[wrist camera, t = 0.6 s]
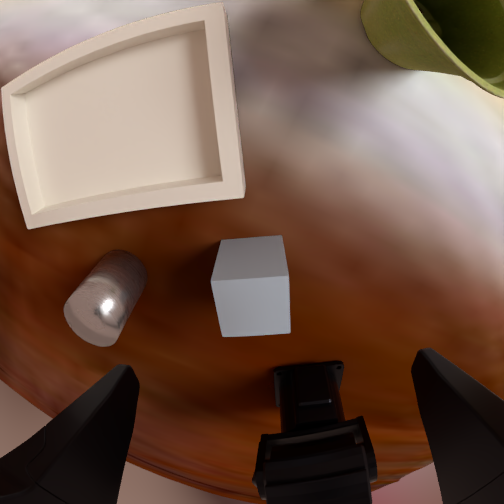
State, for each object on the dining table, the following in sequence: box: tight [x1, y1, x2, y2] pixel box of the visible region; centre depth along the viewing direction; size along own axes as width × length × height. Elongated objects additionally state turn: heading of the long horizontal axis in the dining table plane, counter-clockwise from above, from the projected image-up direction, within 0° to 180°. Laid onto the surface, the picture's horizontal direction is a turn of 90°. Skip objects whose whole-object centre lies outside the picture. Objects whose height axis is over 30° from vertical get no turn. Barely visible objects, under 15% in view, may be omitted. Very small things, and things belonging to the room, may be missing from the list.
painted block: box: [211, 235, 290, 337], centre depth 18 cm, size 4×4×5 cm
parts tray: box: [1, 2, 246, 229], centre depth 14 cm, size 11×16×2 cm
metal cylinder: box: [64, 250, 147, 346], centre depth 18 cm, size 4×4×6 cm
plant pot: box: [361, 0, 504, 98], centre depth 8 cm, size 9×9×9 cm
